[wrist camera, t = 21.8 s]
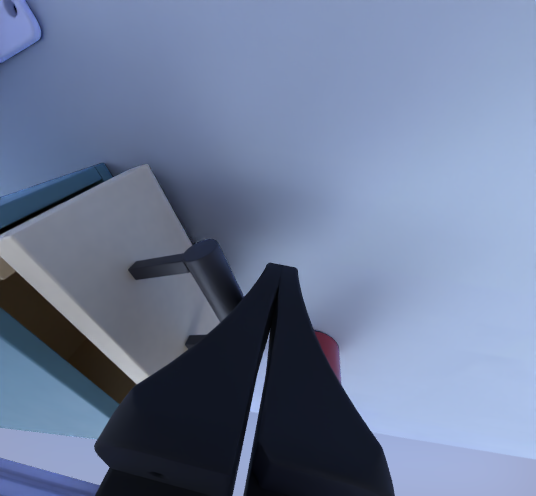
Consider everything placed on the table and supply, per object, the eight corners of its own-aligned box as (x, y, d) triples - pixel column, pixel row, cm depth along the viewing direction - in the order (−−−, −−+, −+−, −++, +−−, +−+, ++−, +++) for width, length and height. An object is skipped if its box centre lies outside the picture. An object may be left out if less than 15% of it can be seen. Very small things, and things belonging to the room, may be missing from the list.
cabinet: (103, 162, 13) (-115, 253, 7) (204, 319, 20) (145, 445, 13) (-37, 210, 18) (-261, 296, 11) (85, 327, 24) (-7, 427, 17)
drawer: (222, 139, 11) (126, 206, 5) (289, 317, 17) (274, 432, 11) (-7, 211, 16) (-174, 283, 10) (107, 329, 22) (38, 413, 16)
